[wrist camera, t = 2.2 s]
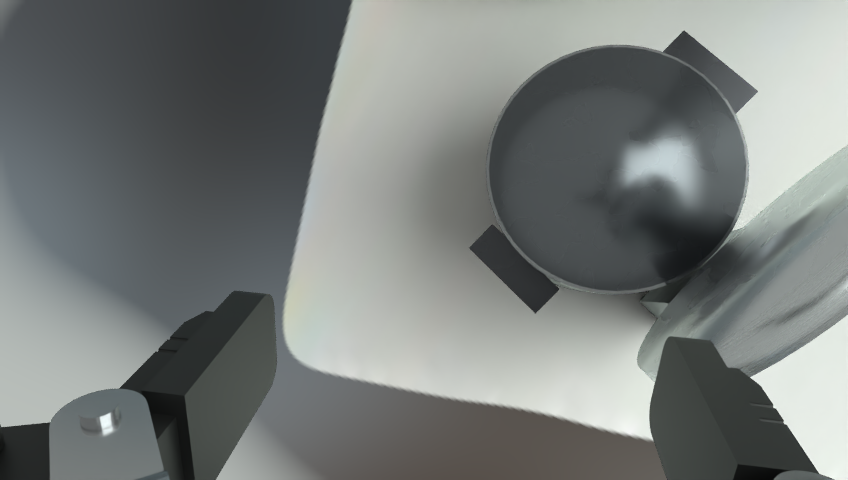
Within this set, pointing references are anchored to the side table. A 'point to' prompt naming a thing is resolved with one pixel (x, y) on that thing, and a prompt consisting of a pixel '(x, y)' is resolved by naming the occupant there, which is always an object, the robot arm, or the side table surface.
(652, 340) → the lid
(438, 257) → the side table surface
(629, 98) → the pot
